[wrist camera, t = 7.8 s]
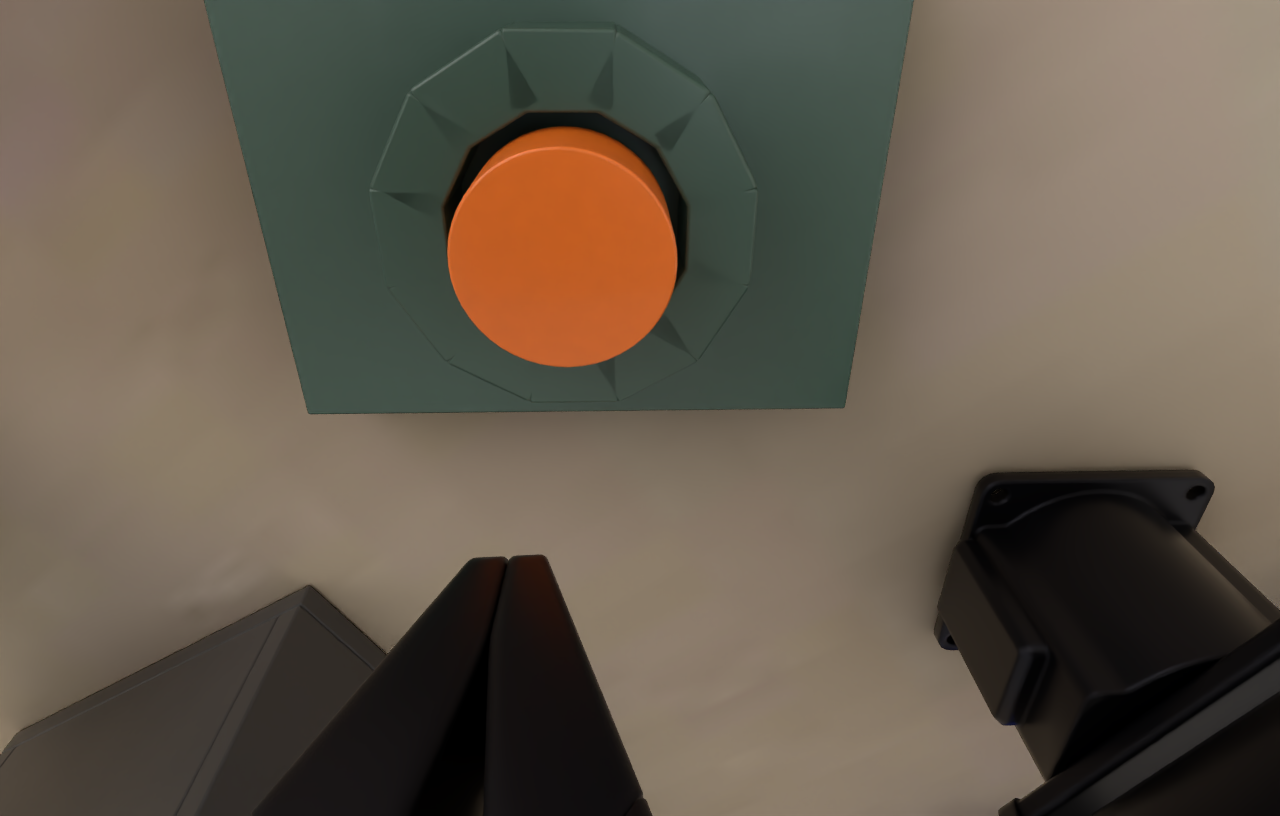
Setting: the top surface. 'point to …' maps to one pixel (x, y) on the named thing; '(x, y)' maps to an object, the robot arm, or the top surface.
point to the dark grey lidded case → (195, 721)
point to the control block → (577, 97)
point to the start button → (563, 248)
